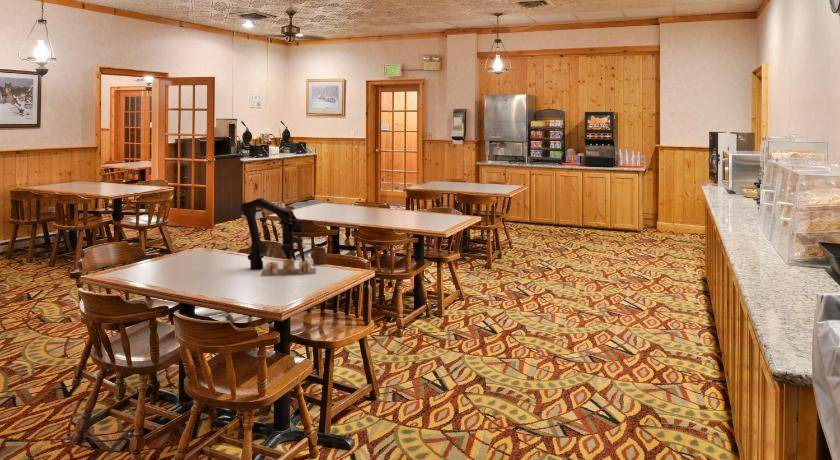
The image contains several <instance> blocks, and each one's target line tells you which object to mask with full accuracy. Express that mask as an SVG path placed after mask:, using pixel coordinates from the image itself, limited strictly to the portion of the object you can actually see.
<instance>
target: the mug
mask: <svg viewBox="0 0 840 460" xmlns="http://www.w3.org/2000/svg"><path fill="white" fill-rule="evenodd" d="M310 258H311V259H312V261H313V262H312V263H313V265H317V266H321V265H322V266H323V265H326V264H327V250H326V248H324V247H318V248H317V247H316V248H313V249H312V250H311V252H310Z"/></svg>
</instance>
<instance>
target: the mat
mask: <svg viewBox="0 0 840 460" xmlns="http://www.w3.org/2000/svg"><path fill="white" fill-rule="evenodd" d="M316 269H317V267H315V268H314V267H313V268H311V267H310V274H299V268H295V270H294V272H283V268H281V269H280V268H278V274H277V275H266V269H262V271H261V272H260V273H261V274H260V277H276V276H277V277H278V276H283V277H284V276H305V275H316V273H317V271H316Z"/></svg>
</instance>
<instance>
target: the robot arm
mask: <svg viewBox="0 0 840 460" xmlns="http://www.w3.org/2000/svg"><path fill="white" fill-rule="evenodd" d="M259 207H261V208H263V209H265V210H266V211H268V212H269V211H270V212H271V213H273V214H275V215H276V216H277V218H279V219H281V220H280V221H279V222H278V224H279V225H282V227H281V228H282V229H281V231H282V232H281V233H282V235H281V236H282V245H281V250H283V252H284V255H285V257H286V258H287V259H286V260H290V257H291V251H292V250H293V249H294V245H295V244H298V245H299V246H302V244H303V241H304V238H302V235H300V234H304V233H305V232H306V230H307V226H306V223H305V221H304V220H298V218H297V217H296V215H295V214H294V211H293V210H292V209H290V208H286V207H281V206H279V205H277V204H275V203H273V202H270V201H268V200H267V199H265V198H263V197H258V198H256V199H253V200H251V201H246V202H243V203H242V204H241V205H240V210H241V212H242V214H243V216H244V217H245V218H246V223H247V226H248V231H249V234H250V238H251V246H250V253H249V254H248V255H247V259H248V261H249V262H250V263H249V264H250V269H249V270H250V271H253V270H255V271H256V270H264V260H263V258H264V256H265V255H266V253H267V247H266V243H265V242H263V241H262V240H261V236H260V231H259V228H258V223H257V219H256V214H257V208H259ZM294 233H299V234H298V235H296V236H295V235H294Z"/></svg>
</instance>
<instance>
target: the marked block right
mask: <svg viewBox="0 0 840 460" xmlns="http://www.w3.org/2000/svg"><path fill="white" fill-rule="evenodd" d="M310 268H311V260H302V261H301V260H300V261H299V262H298V269H299V274H310ZM310 275H311V274H310Z"/></svg>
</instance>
